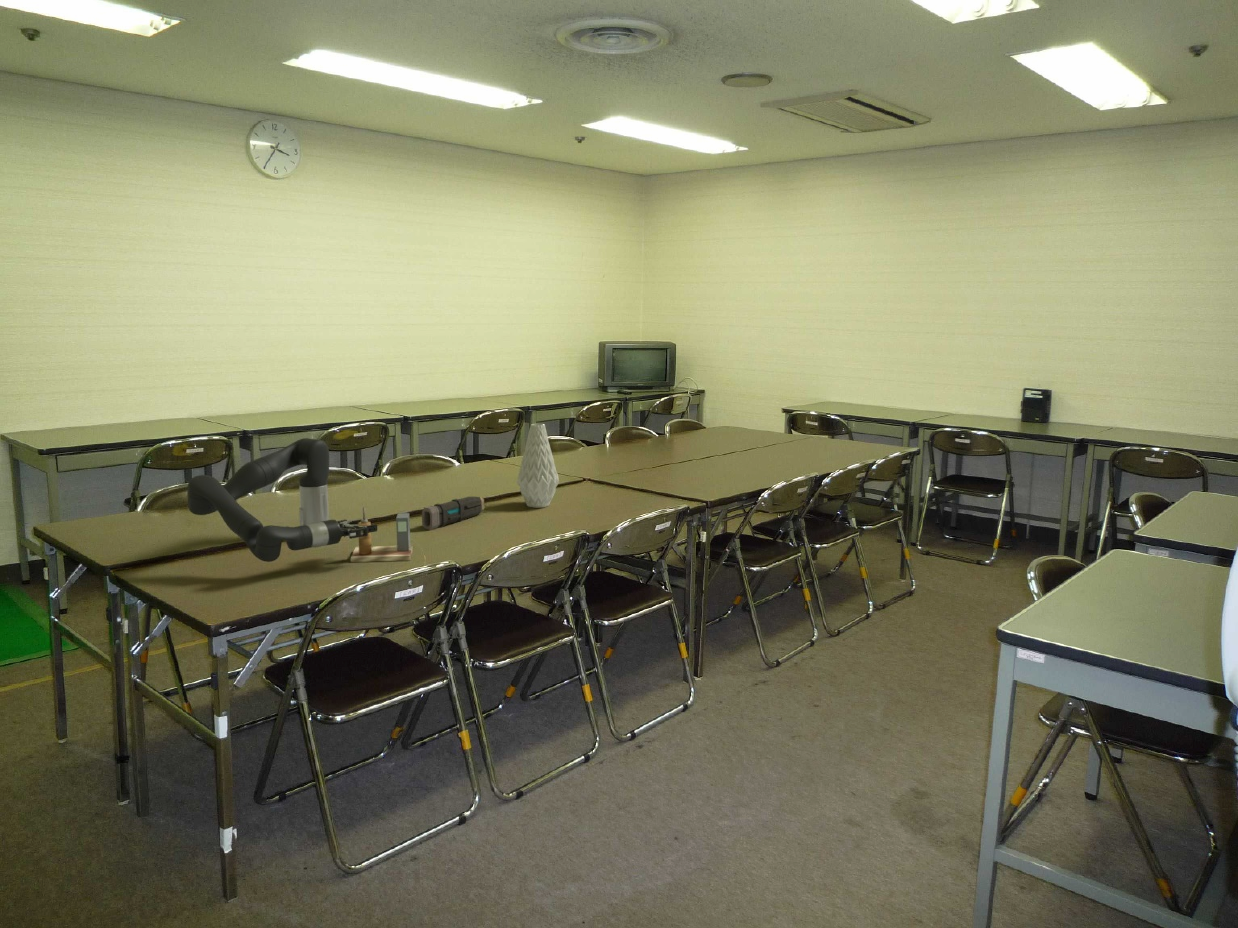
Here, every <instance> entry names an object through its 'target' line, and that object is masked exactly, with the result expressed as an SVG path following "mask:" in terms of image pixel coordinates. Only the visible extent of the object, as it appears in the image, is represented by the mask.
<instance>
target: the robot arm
mask: <svg viewBox="0 0 1238 928" xmlns="http://www.w3.org/2000/svg"><path fill="white" fill-rule="evenodd" d="M304 465H305V466H307V467H306V468H307V469H306V474H303V475H301V476H300V477H299V479H298V485H299V505H300V507H299V508H298V510H299V511H298V512H299V513H298V515H299V525H298V526H297V525H296V526H280V525H273V524H272V525H271V524H270V525H265V526H264V525H263V523H262V522H261V521H260V520H259V519H258V518H257V517H255V516H253V515H252V514H251V513H250V512H248V511H247V510H246V509H245V508H244V507H242V505H240V503H239V502H238V501H237V500H240V498H243V497H244V496H246V495H248V494H251V493H253V492H255V491H257V490H260V489H262V488H265V487H267V486H270V485H271V484H274V483H276V482H277V480H279V478H281V476H282V475H283V473H284V472H286V471H287V470H289V469H293V468H295V467H298V466H304ZM329 476H330V450H329V446H328V444H327V443H326V442H325V441H324V440H322V439H315V438H308V437H307V438H305V437H304V438H300V439H298V440H296V441H294V442H292V443H291V444H289V445H287V446H285V447H284V448H282V449H280V450H278V451H275V452H272V453H269V454H266V455H265V456H261V457H259V458H256V459H254V460H253V459H252V460H251V461H249V462H247V463H245V464H243V465H242V466H241V467H240V468H239V469H238V470H237V471H236V472H235V473H234V474H233V475H231V477H230V479H228V481H227V482H226V483H224V484H222V483H221V482H220V481H219V480H218V479H217V478H215V477H214V476H211V475H207V474H200V475H199V474H198V475H196V476H193V477H192V478H191V479H189V480H188V483H187V507H188V510H189V511H190V513H192V514H194V515H197V516H206V515H209V514H213V513H215V512H218V513H219V515H220V517H221V518H222V519H223V522H224V523H225V525H226V526H227V527H228V528H229V529H230V531H232V532H233V533H234V534H235V535H237V536H238V538H240V539H242V540H243V541H244V543H245V545H246V546H247V547H248V549H249V550H250V552H251V554H253V556H254V557H255V558H257V559H258V560H260V561H262V562H266V563H271V562H274V561H276V560H277V559H278V558H279V557H280V556H281V553H282V552H281V551H282V544H283V541H285V542H286V545H287V548H288V549H289V550H290V551H300V550H305V549H312V548H321V547H325V546H331V545H336V544H339V543H340V541H341V539H342V537H344V538H349V539H355V538H356V539H357V538H359V537H363V536H368V533H371V534H372V533H374V532H378V524H374V523H373V524H371V525H368V526H359V525H358V523H359V522H361V520H362V519H363V518H361V519H354V520H351V519H341V520H336V519H330V515H329V513H330V512H329V493H328V489H329V488H328V478H329ZM362 530H363V532H361V531H362Z"/></svg>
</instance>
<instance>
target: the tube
mask: <svg viewBox="0 0 1238 928" xmlns="http://www.w3.org/2000/svg"><path fill="white" fill-rule="evenodd" d="M484 510H485V499H484V497H483V496H465V497H463V498H454V499H451V500H450V501H448V502H442V503H435V504H434V505H428V506H425V507H423V509H422V510H421V525H422V527H423V529H424V530H427V531H428V530H429V531H431V530H435V529H438V528H442V527H445V526H447V525H449V524H454V523H456V522H459V523H460V522H463V521H464V520H466V519H469V518H472V517H476V516H477V515H479V514H481V513H482V511H484Z"/></svg>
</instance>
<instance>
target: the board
mask: <svg viewBox="0 0 1238 928" xmlns="http://www.w3.org/2000/svg"><path fill="white" fill-rule="evenodd" d="M413 546H414V545H411V544H410V549H409V551H397V545H381V546H371V550H372V553H371V554H370V555H360V554H359V546H355V548H354V550H353V553H352V554H351V555H350V556H351V557H350V562H351V563H356V562H357V563H363V562H364V563H367V562H394V561H395V562H402V561H411V558H412V554H413V549H414V547H413Z"/></svg>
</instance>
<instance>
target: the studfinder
mask: <svg viewBox="0 0 1238 928" xmlns="http://www.w3.org/2000/svg"><path fill="white" fill-rule="evenodd" d="M410 521H411V520H410V513H409V512H403V513H402V512H400V513H397V515H396V518H395V522H396V523H395V524H396V546H397V551H409V549H410V545H411V524H410Z"/></svg>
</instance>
